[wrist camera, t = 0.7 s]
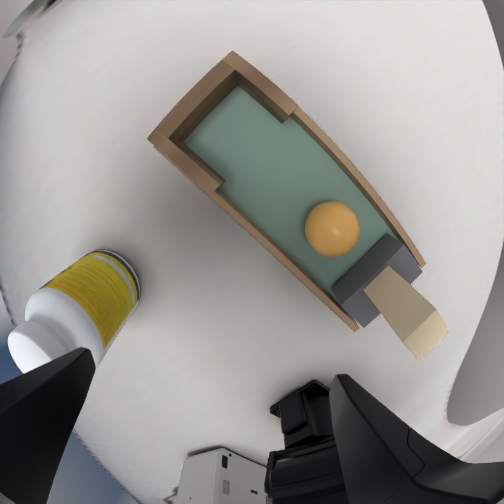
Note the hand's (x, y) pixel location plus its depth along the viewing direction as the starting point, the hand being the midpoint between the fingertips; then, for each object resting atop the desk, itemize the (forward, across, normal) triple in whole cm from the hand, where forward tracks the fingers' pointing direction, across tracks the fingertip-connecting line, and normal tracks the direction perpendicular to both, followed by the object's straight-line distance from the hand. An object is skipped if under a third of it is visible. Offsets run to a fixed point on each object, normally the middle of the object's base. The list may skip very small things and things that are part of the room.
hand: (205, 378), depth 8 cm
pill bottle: (+13, +11, +3) cm, 17 cm away
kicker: (+12, -11, 0) cm, 16 cm away
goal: (+13, +1, -10) cm, 16 cm away
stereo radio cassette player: (+14, -4, +36) cm, 39 cm away
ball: (+12, -6, -3) cm, 14 cm away
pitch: (+13, -5, -5) cm, 14 cm away
